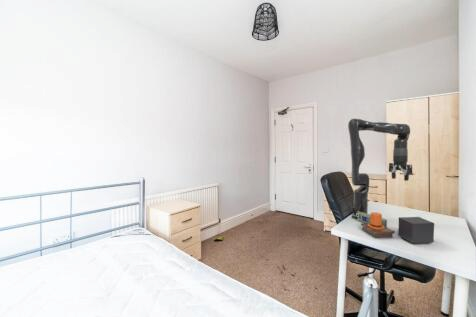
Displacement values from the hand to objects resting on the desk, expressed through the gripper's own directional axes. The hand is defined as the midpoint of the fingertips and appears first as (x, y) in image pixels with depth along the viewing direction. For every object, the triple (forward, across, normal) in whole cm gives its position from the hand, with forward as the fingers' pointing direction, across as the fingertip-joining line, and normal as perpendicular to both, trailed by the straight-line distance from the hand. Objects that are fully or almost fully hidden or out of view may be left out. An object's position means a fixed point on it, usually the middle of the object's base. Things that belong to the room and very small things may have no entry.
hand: (399, 179), depth 140 cm
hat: (+28, -3, +21) cm, 35 cm away
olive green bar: (+32, +11, +14) cm, 37 cm away
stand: (+32, -4, +21) cm, 39 cm away
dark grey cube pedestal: (+32, -18, +9) cm, 38 cm away
